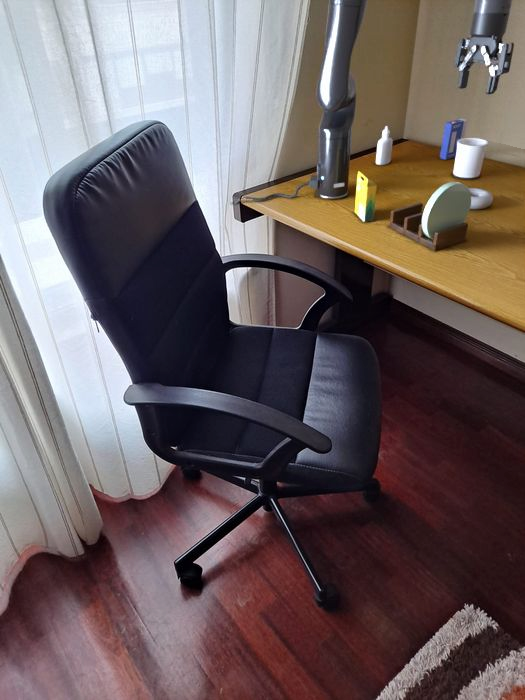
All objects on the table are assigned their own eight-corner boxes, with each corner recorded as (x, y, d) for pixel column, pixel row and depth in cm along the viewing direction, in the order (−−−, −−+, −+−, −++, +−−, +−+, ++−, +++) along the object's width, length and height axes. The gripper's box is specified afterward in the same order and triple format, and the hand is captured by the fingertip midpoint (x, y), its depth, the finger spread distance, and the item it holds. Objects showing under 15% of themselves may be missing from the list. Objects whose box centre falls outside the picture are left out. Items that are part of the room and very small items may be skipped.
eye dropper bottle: (373, 161, 173) (376, 125, 166) (388, 160, 174) (392, 123, 166) (377, 165, 170) (380, 128, 163) (393, 164, 171) (397, 127, 163)
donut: (496, 202, 141) (462, 195, 146) (499, 190, 139) (464, 183, 144) (483, 214, 135) (448, 206, 140) (486, 202, 133) (450, 194, 138)
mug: (483, 180, 155) (490, 146, 148) (453, 180, 156) (459, 146, 150) (476, 168, 163) (483, 135, 157) (448, 168, 165) (454, 136, 158)
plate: (417, 246, 122) (426, 188, 113) (458, 232, 127) (470, 176, 118) (422, 249, 121) (432, 191, 112) (464, 235, 126) (476, 178, 117)
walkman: (445, 160, 171) (452, 123, 164) (439, 158, 173) (445, 121, 166) (461, 155, 175) (468, 118, 167) (455, 153, 176) (461, 117, 169)
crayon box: (374, 221, 135) (378, 178, 128) (363, 222, 135) (367, 179, 127) (364, 210, 141) (367, 169, 134) (354, 212, 140) (357, 170, 133)
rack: (389, 227, 132) (391, 210, 129) (417, 218, 135) (420, 202, 132) (434, 250, 120) (437, 233, 117) (464, 240, 123) (468, 223, 121)
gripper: (455, 9, 113) (442, 88, 123) (506, 12, 103) (488, 98, 113) (478, 7, 116) (464, 84, 126) (531, 9, 106) (511, 93, 116)
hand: (475, 90), depth 119 cm, fingers open, 8 cm apart
